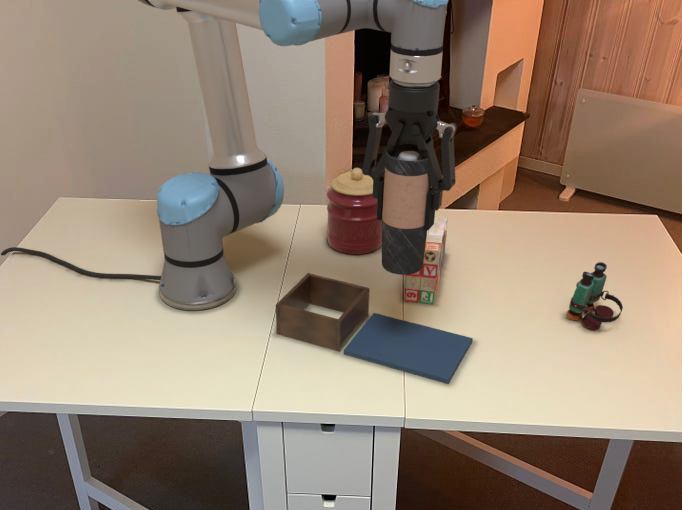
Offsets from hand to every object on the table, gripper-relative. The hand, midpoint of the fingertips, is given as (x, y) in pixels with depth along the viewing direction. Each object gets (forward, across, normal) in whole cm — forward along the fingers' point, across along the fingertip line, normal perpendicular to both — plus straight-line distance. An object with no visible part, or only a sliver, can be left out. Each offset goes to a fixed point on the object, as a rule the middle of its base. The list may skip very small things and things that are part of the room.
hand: (405, 221), depth 125 cm
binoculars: (+25, +31, +25) cm, 47 cm away
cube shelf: (+25, -15, 0) cm, 29 cm away
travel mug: (+8, 0, 0) cm, 8 cm away
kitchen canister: (+25, -24, +34) cm, 48 cm away
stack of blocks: (+25, -4, +26) cm, 36 cm away
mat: (+25, +2, 0) cm, 25 cm away
